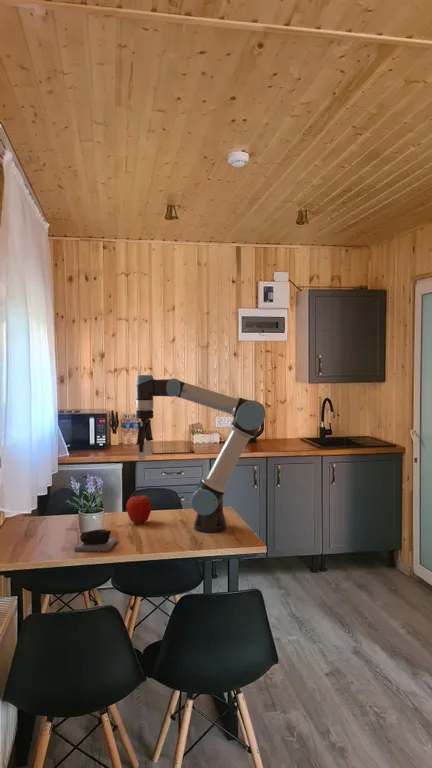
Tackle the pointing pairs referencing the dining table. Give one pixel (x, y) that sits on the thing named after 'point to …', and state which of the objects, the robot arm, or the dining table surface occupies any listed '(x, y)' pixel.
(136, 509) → the apple
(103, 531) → the mineral
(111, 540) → the plate
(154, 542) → the dining table surface
